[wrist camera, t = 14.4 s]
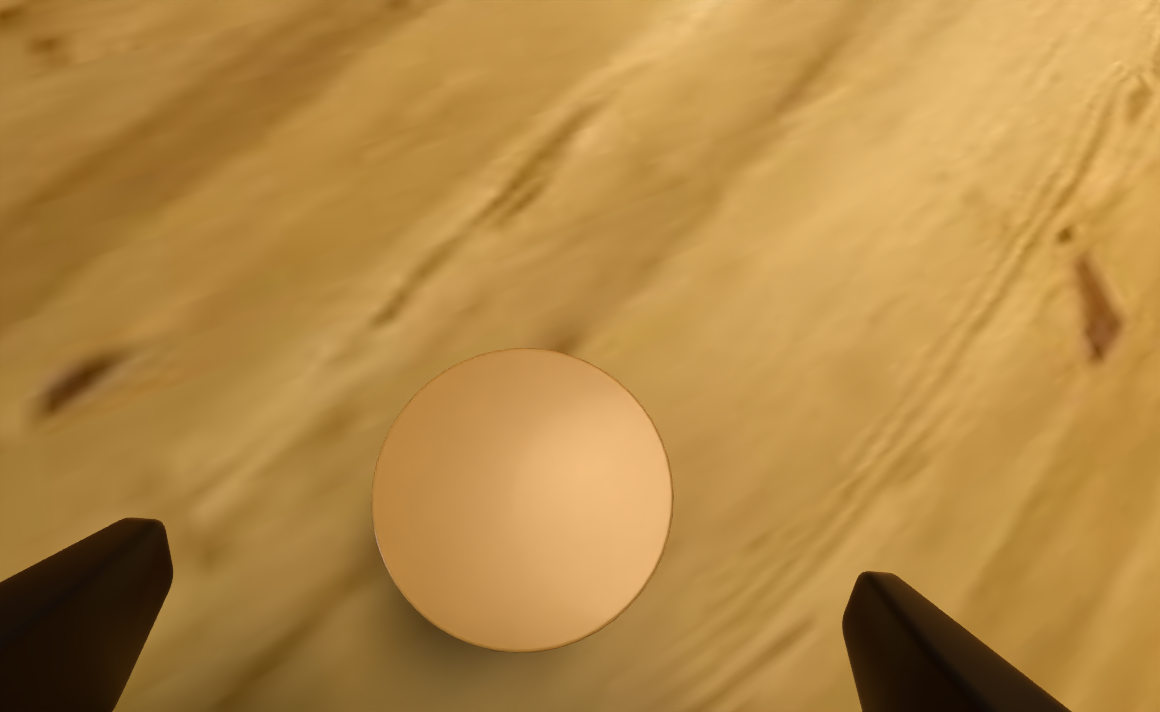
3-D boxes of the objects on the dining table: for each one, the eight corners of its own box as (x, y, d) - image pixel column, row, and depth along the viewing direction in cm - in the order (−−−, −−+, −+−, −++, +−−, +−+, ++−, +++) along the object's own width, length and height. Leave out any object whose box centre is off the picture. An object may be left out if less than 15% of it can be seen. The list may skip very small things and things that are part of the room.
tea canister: (445, 648, 20) (395, 690, 11) (415, 461, 22) (351, 376, 13) (630, 601, 21) (710, 608, 12) (587, 424, 22) (632, 324, 14)
